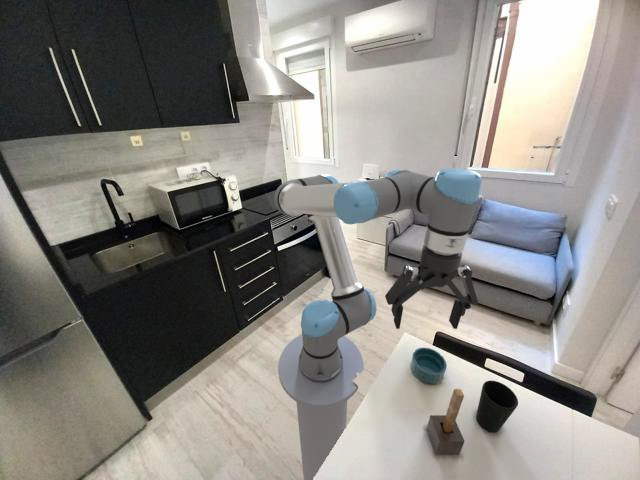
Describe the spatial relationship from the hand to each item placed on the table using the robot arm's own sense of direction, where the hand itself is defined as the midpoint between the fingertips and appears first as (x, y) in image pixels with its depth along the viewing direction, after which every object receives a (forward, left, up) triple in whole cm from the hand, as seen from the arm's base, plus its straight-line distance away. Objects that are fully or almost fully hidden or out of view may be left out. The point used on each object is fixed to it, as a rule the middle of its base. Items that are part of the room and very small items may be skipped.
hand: (424, 324), depth 62 cm
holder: (+11, -2, -31) cm, 33 cm away
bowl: (-1, +14, -31) cm, 34 cm away
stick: (+11, -2, -31) cm, 33 cm away
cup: (+18, +11, -31) cm, 37 cm away
